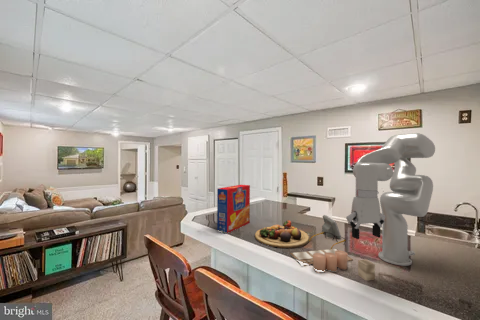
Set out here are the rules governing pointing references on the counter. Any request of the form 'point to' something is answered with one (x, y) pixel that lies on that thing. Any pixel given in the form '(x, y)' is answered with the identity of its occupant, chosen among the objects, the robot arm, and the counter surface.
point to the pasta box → (233, 207)
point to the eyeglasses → (333, 238)
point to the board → (308, 255)
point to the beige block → (366, 269)
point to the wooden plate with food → (282, 236)
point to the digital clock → (330, 227)
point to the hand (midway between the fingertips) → (366, 237)
